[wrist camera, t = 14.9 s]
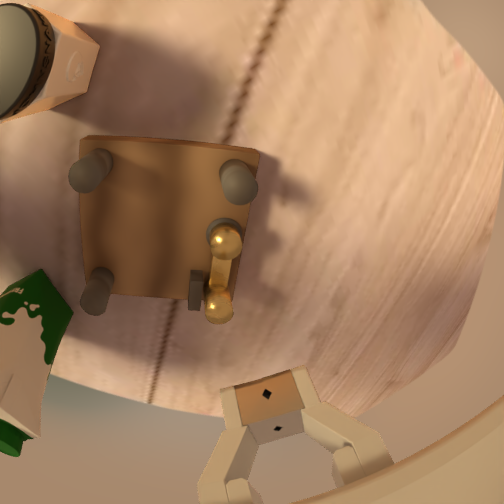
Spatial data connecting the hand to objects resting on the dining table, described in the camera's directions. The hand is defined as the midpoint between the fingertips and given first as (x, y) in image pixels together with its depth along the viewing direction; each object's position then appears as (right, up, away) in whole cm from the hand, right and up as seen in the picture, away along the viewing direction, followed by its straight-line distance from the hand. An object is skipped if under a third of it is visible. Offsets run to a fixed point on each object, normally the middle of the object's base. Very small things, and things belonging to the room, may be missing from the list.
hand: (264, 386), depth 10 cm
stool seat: (-9, +8, +21) cm, 24 cm away
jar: (-18, +22, +11) cm, 31 cm away
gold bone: (-4, +4, +21) cm, 21 cm away
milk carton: (-27, -1, +23) cm, 35 cm away
